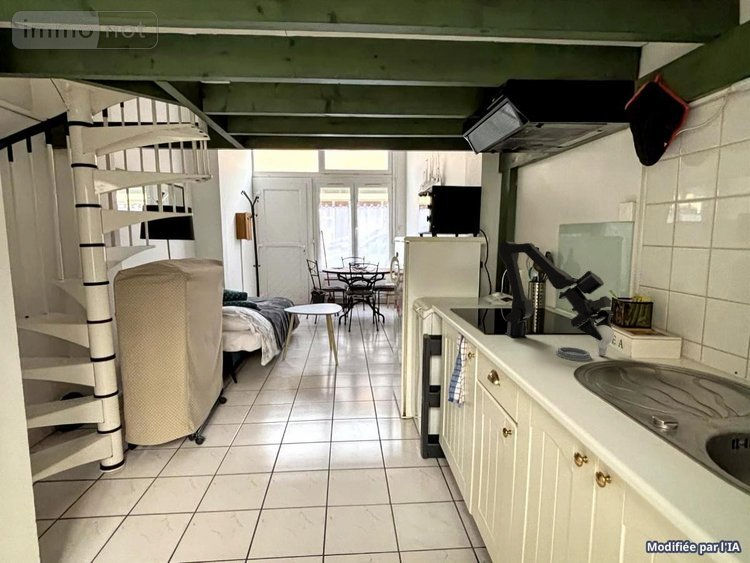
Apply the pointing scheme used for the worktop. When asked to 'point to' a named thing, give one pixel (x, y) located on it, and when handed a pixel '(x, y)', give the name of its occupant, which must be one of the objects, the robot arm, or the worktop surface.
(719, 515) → the worktop surface
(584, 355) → the bulb dish
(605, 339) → the lightbulb
